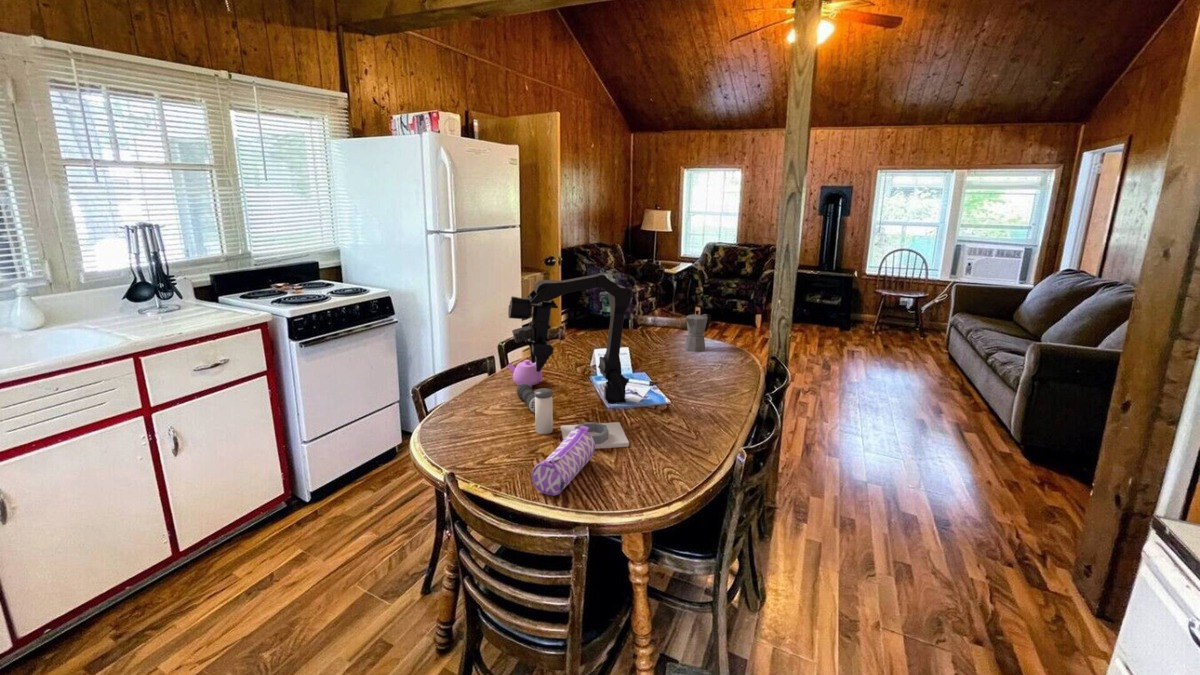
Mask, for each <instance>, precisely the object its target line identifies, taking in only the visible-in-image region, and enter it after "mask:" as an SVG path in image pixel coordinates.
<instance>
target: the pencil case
mask: <svg viewBox="0 0 1200 675" xmlns="http://www.w3.org/2000/svg"><path fill="white" fill-rule="evenodd" d="M588 430H589V427H586V426H581V427H580V428H579V429H574V430H572V431H571V432H570V433H569V435H568V436H567V437H566V438H565V439H564V440H563V439H562V441H561V443H560V444H559V445H558V446H557V447H556V448H555V450H553V452H552V453H550V454H549V455H548V456H547V457H546V458H545V460H543V461H541V462H538V463H537V464H536V465H535V466H534V467H533V469H532V472H531V481H532V483H533V486H534V487H535V488H536V489H537V491H538V492H541V493H542V494H544V495H548V496H555V497H556V496H558V495H559V494H561V493H562V491H563V490H564V489H565V488H566V487H567V486H568V485H569V484H570V483H571V481H573V479H575V477H576V476H578V474H579V473H580V472H581V471H582V469H583V468H584V467H585V466H586V465H587V463H588V462H589V461H590V460H591V458H592V457H593V456H594V454H595V451H596V450H595V442H594V439H593V437H592V436H591V435H590V434H589V433H588V432H587V431H588Z"/></svg>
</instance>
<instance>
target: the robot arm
mask: <svg viewBox="0 0 1200 675" xmlns="http://www.w3.org/2000/svg"><path fill="white" fill-rule="evenodd" d="M596 288H597V289H598V288H600V289H602V290H603V291H604V292H606V293H608V303H609V308H610V317H609V325H608V326H609V327H608V334H607V335H608V336H607V343H606V351H605V354H604V355H603V356H599V363H598V366H597V368H598V369H599V373H600V374H601V375H602V376H603V377H604V378H605V380H607V381H606V382H605V385H604V387H603V388H604V389H603V397H604V399H605V400H606V402H607V404H619V403H618V402H624V403H627V399H626V387H627V385H628V382H629V380H628V379H627V378H626V377H625V376H624V375H623V374H622V364H621V363H622V362H621V359H620V352H621V345H622V336H623V330H624V322H625V321H624V320H625V315H626V312H627V310H628V309H629V306H630V303H631V301H632V292H631V290H630V289H628V288H627V287H625V286H623V285H621V284H617V283H614V282H613V281H612V280H610V278H608V277H607V275H604V274H603V273H601V272H598V273H596V274H590V275H585V276H580V277H575V278H569V279H568V278H567V279H563V280H556V279H541V280H537V281H536V283H535V284H534V287H533V290H532V291H531V292H530V293H529V294H528V295H527V296H526V297H518V296H513V295H512V296H511V298H510V302H509V305H508V313H507V314H508V315H507V316H508V319H517V320H528V318H530V317H531V320H530V322H529V324H528V325H526V326H522V327H519V328H516V329H515V328H514V329H513V330H511V332H512V335H513V340H514V342H515V343H521V342H523V341H525V343H526V345H528V346H529V353H530V359H531V360H530V361H531V362H532V363H535V362H536V371H537V372H540V371H541V369H542V370H543V367H544V366H545V364H546V363H547V361H548V359H549V358H550V357H551V356H552V355H554V346H553V345H552V344H551V343H550V337H549V331H550V330H551V328H552V326H551V324H550V323H551V314H552V309H558V308H559V306H558V305H557V304H556V303H555V301H554V300H555V299H558V298H559V297H560V296H563V295H566V294H569V293H570V294H571V293H575V292H580V291H585V290H591V289H596ZM616 402H617V403H616Z"/></svg>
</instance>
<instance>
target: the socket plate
mask: <svg viewBox="0 0 1200 675" xmlns="http://www.w3.org/2000/svg"><path fill="white" fill-rule="evenodd" d="M581 426H586V427H589V430H588V431H587V432H588V433H589V434H590V435H591V436H592V437H593V439H594V442H595V449H596V450H597V449H611V448H613V449H614V448H625V447H626V448H627V447H630V442H629V440H628V437H627V436H626V433H625V432H624V429H623V427H622V425H621V423H620V421H619V422H618V421H617V422H616V421H615V422H600V423H599V422H597V421H595V422H594V421H593V422H592V421H591V422H582V423H579V424H568V425H565V424H564V425H560V432H561V435H562V441H563V440H564V439H565V438H566V437H567V436H568V435H569V433H570V432H571V431H572V430H574V429H579V428H580V427H581Z"/></svg>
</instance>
